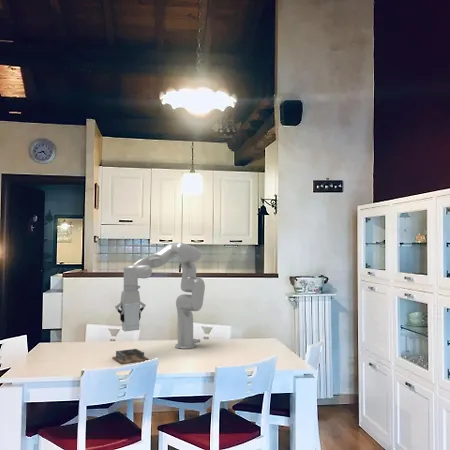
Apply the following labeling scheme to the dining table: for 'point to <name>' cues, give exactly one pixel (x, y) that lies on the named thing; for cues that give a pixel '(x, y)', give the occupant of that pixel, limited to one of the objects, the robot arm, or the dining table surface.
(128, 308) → the skincare box
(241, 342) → the dining table surface
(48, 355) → the dining table surface
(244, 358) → the dining table surface
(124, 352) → the u rest
